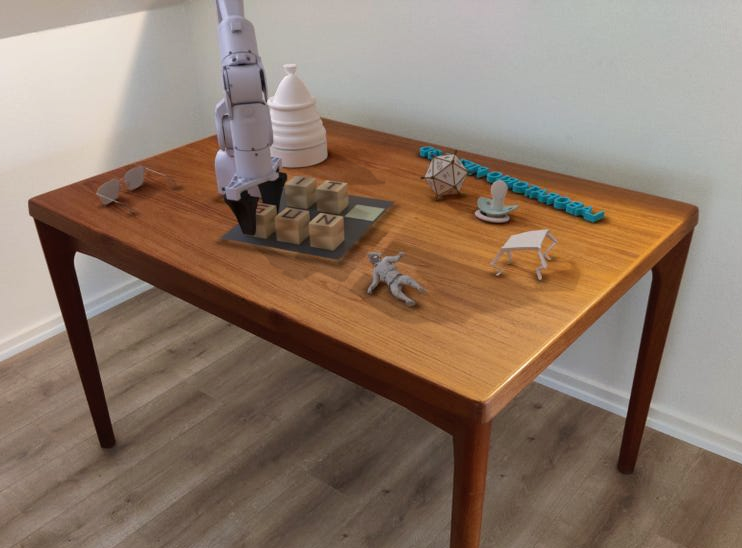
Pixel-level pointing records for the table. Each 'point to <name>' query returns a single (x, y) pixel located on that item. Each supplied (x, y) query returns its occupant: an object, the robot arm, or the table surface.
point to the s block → (265, 220)
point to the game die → (446, 174)
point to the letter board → (305, 246)
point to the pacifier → (495, 204)
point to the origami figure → (527, 246)
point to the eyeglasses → (111, 188)
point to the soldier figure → (392, 276)
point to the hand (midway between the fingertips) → (260, 224)
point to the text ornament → (524, 188)
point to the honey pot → (296, 124)
